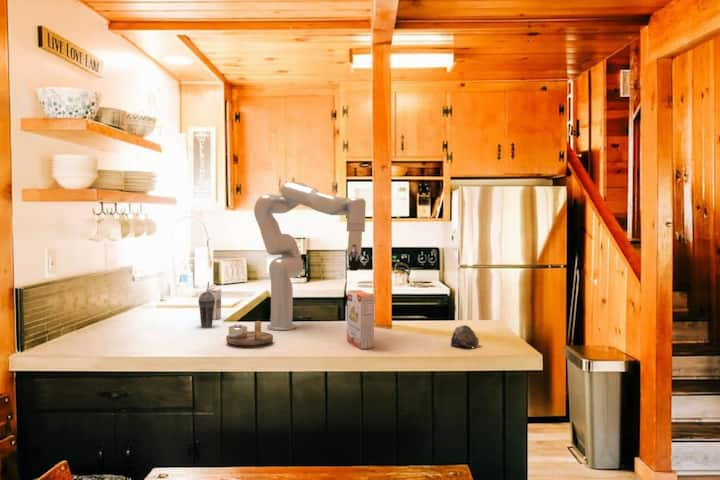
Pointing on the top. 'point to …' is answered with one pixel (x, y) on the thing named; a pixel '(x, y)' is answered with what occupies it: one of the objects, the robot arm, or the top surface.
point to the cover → (237, 332)
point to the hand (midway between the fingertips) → (354, 269)
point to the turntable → (253, 337)
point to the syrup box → (216, 302)
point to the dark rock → (464, 337)
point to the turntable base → (250, 345)
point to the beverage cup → (206, 308)
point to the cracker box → (360, 319)
